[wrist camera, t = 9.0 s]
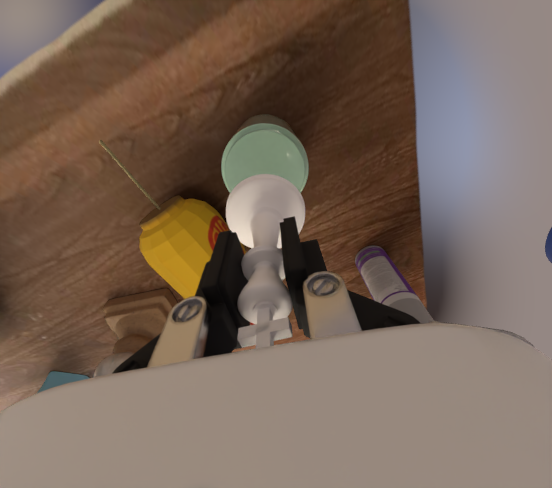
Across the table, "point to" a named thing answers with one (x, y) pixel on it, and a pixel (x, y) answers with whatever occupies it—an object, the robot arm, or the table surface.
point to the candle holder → (134, 324)
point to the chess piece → (263, 254)
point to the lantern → (179, 238)
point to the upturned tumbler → (264, 152)
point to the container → (389, 283)
